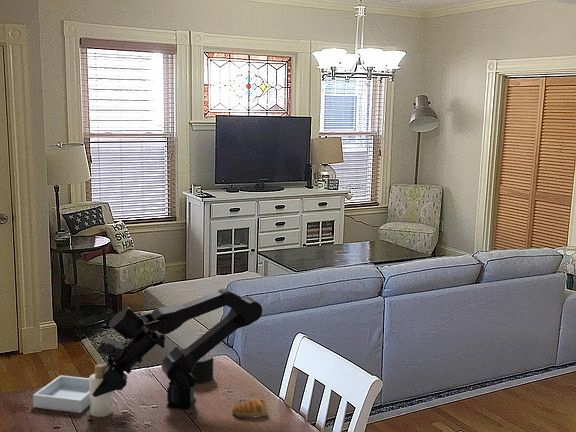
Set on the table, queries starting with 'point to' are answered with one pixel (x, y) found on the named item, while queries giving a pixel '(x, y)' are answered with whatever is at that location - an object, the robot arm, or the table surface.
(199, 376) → the sushi
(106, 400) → the dressing bottle
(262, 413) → the pastry
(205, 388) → the table surface
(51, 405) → the bin
